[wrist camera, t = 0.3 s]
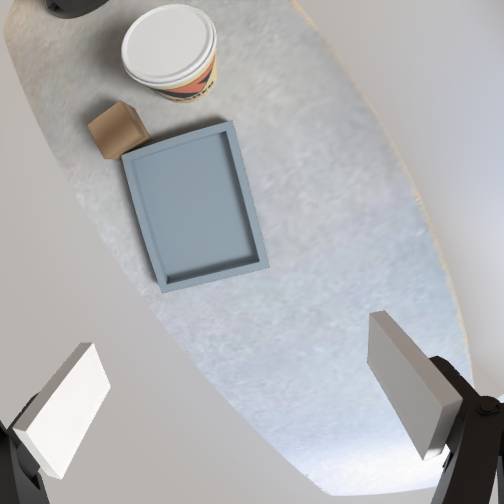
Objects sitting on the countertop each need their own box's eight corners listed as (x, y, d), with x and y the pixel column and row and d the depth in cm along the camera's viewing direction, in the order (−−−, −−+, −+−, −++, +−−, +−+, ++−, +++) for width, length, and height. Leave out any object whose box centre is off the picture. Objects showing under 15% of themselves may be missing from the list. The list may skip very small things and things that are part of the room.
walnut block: (104, 129, 35) (87, 125, 31) (134, 108, 35) (120, 100, 30) (120, 160, 37) (104, 158, 32) (151, 138, 36) (138, 134, 31)
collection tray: (128, 156, 36) (121, 155, 34) (233, 123, 36) (232, 120, 33) (166, 286, 41) (161, 293, 38) (268, 262, 40) (270, 267, 38)
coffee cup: (164, 121, 35) (132, 100, 24) (144, 62, 33) (109, 26, 22) (234, 93, 35) (229, 60, 23) (210, 35, 33) (198, -12, 21)
